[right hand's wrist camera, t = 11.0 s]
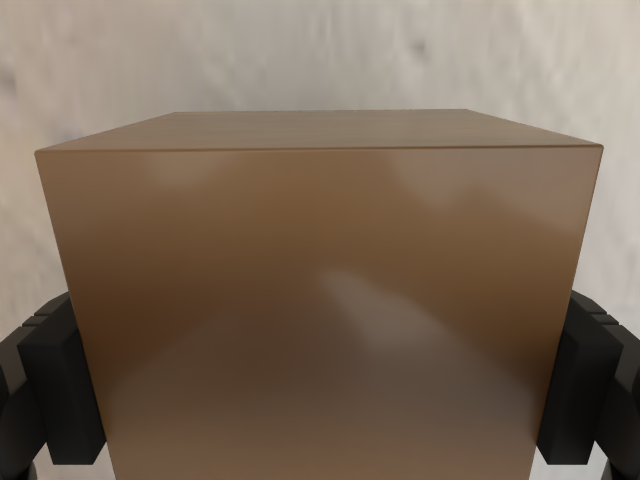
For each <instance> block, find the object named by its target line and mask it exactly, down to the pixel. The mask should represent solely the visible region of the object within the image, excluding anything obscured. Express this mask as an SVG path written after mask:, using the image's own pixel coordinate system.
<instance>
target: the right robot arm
mask: <svg viewBox="0 0 640 480" xmlns="http://www.w3.org/2000/svg"><path fill="white" fill-rule="evenodd" d="M594 441H596V442H597V444H598V445H599V447H600V448H601V449H602V451H603V452H604V453H605V455H606V456H607V457H608V459H607V462H606V465H605V468H604V471H603V474H602V477H601V480H640V340H639V339H638V338H637V337H635V336H634V335H633V334H632V333H631V332H630V331H628V330H627V329H626V328H625V327H624V326H622V325H619V322H618V321H617V320H615V319H614V318H613V317H612V316H611V315H607V312H606V311H605V310H604V309H602V308H601V307H600V306H599V305H598V304H597V303H595V302H594V301H593V300H592V299H590V298H588V297H586V296H584V295H582V294H580V293H578V292H576V291H574V290H571V295H570V299H569V303H568V308H567V312H566V317H565V321H564V326H563V330H562V334H561V339H560V343H559V348H558V352H557V356H556V361H555V365H554V370H553V374H552V379H551V383H550V387H549V392H548V396H547V401H546V405H545V410H544V414H543V418H542V423H541V427H540V432H539V436H538V440H537V447H538V449H539V451H540V452H541V454H542V456H543V458H544V459H545V461H546V463H547V465H587V463H588V460H589V457H590V454H591V451H592V447H593V444H594ZM45 443H47V446H48V449H49V452H50V456H51V459H52V462H53V465H93V464H94V462H95V460H96V458H97V457H98V455H99V453H100V451H101V450H102V448H103V446H104V444H105V443H106V438H105V434H104V430H103V426H102V422H101V418H100V414H99V410H98V406H97V402H96V398H95V394H94V390H93V386H92V382H91V378H90V374H89V370H88V366H87V362H86V358H85V354H84V350H83V346H82V342H81V338H80V334H79V330H78V326H77V322H76V318H75V314H74V310H73V306H72V302H71V298H70V294H69V291H68V292H66V293H64V294H62V295H60V296H58V297H56V298H54V299H52V300H50V301H48V302H47V303H46V304H45V305H44V306H43V307H41V308H40V309H39V310H38V311H37V312H36V313H34V316H31V317H30V318H29V319H27V320H26V321H25V322H24V323H23V324H22V327H18V328H17V329H16V330H15V331H13V332H12V333H11V334H10V335H9V336H8V337H6V338H5V339H4V340H3V341H2V342H1V343H0V480H37V474H36V468H35V465H34V462H33V459H34V458H35V456H36V455H37V454H38V452H39V451H40V449H41V448H42V447H43V445H44V444H45Z"/></svg>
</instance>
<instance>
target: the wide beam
mask: <svg viewBox="0 0 640 480" xmlns="http://www.w3.org/2000/svg"><path fill="white" fill-rule="evenodd" d="M603 149H604V147H603V145H601V144H598V143H594V142H590V141H586V140H582V139H578V138H575V137H571V136H567V135H563V134H559V133H555V132H551V131H548V130H544V129H540V128H536V127H532V126H528V125H525V124H521V123H517V122H513V121H509V120H505V119H501V118H498V117H494V116H490V115H486V114H482V113H478V112H474V111H471V110H467V109H428V110H338V111H247V112H174V113H171V114H167V115H163V116H160V117H156V118H152V119H149V120H145V121H141V122H138V123H134V124H131V125H127V126H123V127H120V128H116V129H112V130H109V131H105V132H101V133H98V134H94V135H90V136H87V137H83V138H80V139H76V140H72V141H69V142H65V143H61V144H58V145H54V146H50V147H47V148H43V149H39V150H37V151H35V153H34V155H35V159H36V162H37V166H38V170H39V174H40V178H41V182H42V186H43V190H44V194H45V198H46V202H47V206H48V210H49V214H50V218H51V222H52V226H53V230H54V234H55V238H56V242H57V246H58V250H59V254H60V258H61V262H62V266H63V270H64V274H65V278H66V282H67V286H68V290H69V294H70V298H71V302H72V306H73V310H74V314H75V318H76V322H77V326H78V330H79V334H80V338H81V342H82V346H83V350H84V354H85V358H86V362H87V366H88V370H89V374H90V378H91V382H92V386H93V390H94V394H95V398H96V402H97V406H98V410H99V414H100V418H101V422H102V426H103V430H104V434H105V438H106V442H107V446H108V449H109V453H110V457H111V461H112V465H113V469H114V473H115V477H116V480H529V476H530V471H531V467H532V463H533V458H534V454H535V449H536V445H537V440H538V436H539V432H540V427H541V423H542V418H543V414H544V410H545V405H546V401H547V396H548V392H549V387H550V383H551V379H552V374H553V370H554V365H555V361H556V356H557V352H558V348H559V343H560V339H561V334H562V330H563V326H564V321H565V317H566V312H567V308H568V303H569V299H570V295H571V290H572V286H573V281H574V277H575V273H576V268H577V264H578V259H579V255H580V250H581V246H582V242H583V237H584V233H585V228H586V224H587V219H588V215H589V211H590V206H591V202H592V197H593V193H594V189H595V184H596V180H597V175H598V171H599V166H600V162H601V158H602V153H603Z"/></svg>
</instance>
